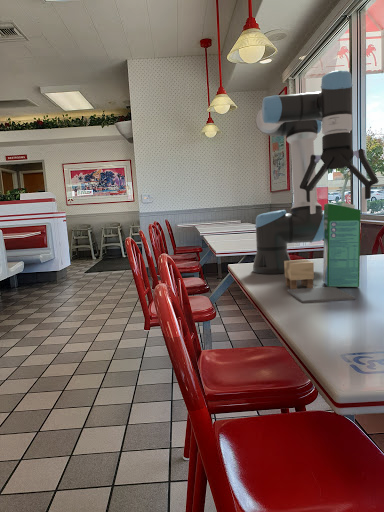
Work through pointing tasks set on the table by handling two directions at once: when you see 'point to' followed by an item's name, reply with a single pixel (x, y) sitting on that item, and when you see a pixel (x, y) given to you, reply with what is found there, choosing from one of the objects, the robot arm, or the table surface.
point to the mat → (320, 294)
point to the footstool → (299, 273)
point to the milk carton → (341, 245)
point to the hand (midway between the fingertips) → (337, 212)
